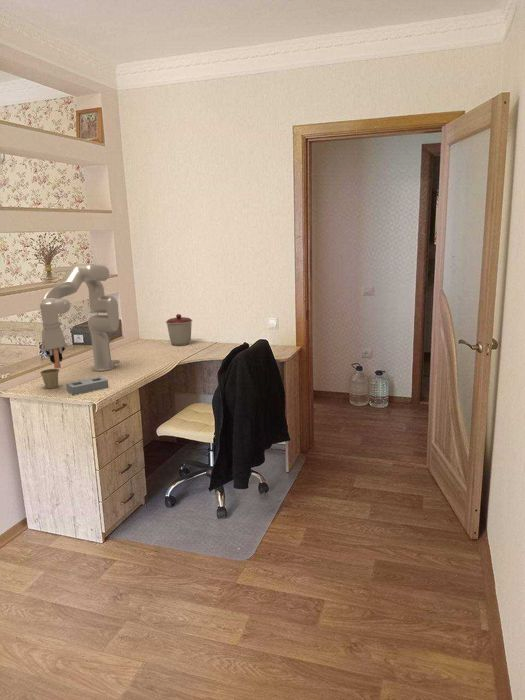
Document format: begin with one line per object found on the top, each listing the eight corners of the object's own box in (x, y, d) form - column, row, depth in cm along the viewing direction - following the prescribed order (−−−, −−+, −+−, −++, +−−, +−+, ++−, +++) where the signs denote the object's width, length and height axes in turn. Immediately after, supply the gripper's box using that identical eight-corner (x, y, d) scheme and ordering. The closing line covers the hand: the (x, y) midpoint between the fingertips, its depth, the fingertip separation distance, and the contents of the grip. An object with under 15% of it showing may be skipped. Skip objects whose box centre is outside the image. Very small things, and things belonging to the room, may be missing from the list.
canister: (199, 342, 369) (197, 312, 364) (182, 348, 354) (180, 317, 349) (179, 340, 378) (177, 311, 374) (162, 345, 364) (159, 315, 359)
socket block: (101, 383, 281) (100, 376, 280) (108, 387, 273) (107, 380, 272) (67, 390, 271) (66, 383, 270) (73, 395, 263) (72, 387, 262)
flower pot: (38, 388, 277) (36, 372, 275) (54, 383, 285) (51, 367, 283) (49, 390, 272) (47, 374, 270) (65, 385, 280) (62, 369, 278)
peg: (59, 366, 270) (56, 345, 267) (61, 367, 268) (58, 346, 265) (53, 367, 269) (50, 346, 266) (55, 368, 266) (52, 347, 263)
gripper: (65, 322, 270) (70, 357, 275) (32, 327, 261) (37, 363, 266) (70, 324, 264) (75, 359, 269) (36, 330, 255) (42, 366, 260)
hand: (56, 361), depth 267 cm, fingers closed on peg, 3 cm apart
